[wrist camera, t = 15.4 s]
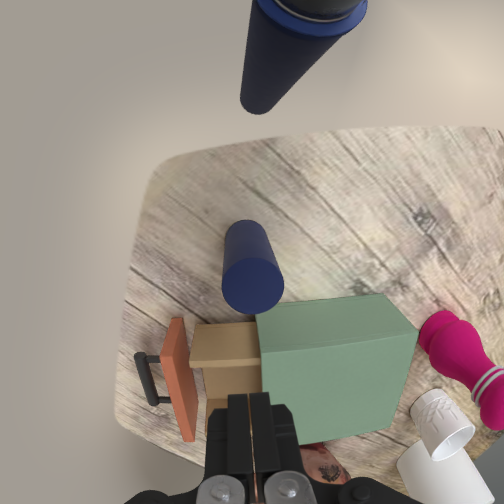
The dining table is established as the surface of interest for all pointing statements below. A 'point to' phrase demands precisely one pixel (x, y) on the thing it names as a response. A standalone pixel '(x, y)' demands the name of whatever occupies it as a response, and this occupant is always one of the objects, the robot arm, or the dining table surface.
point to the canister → (442, 478)
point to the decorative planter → (319, 465)
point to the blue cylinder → (250, 269)
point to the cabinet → (336, 363)
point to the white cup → (441, 424)
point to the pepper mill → (465, 363)
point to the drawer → (204, 369)
